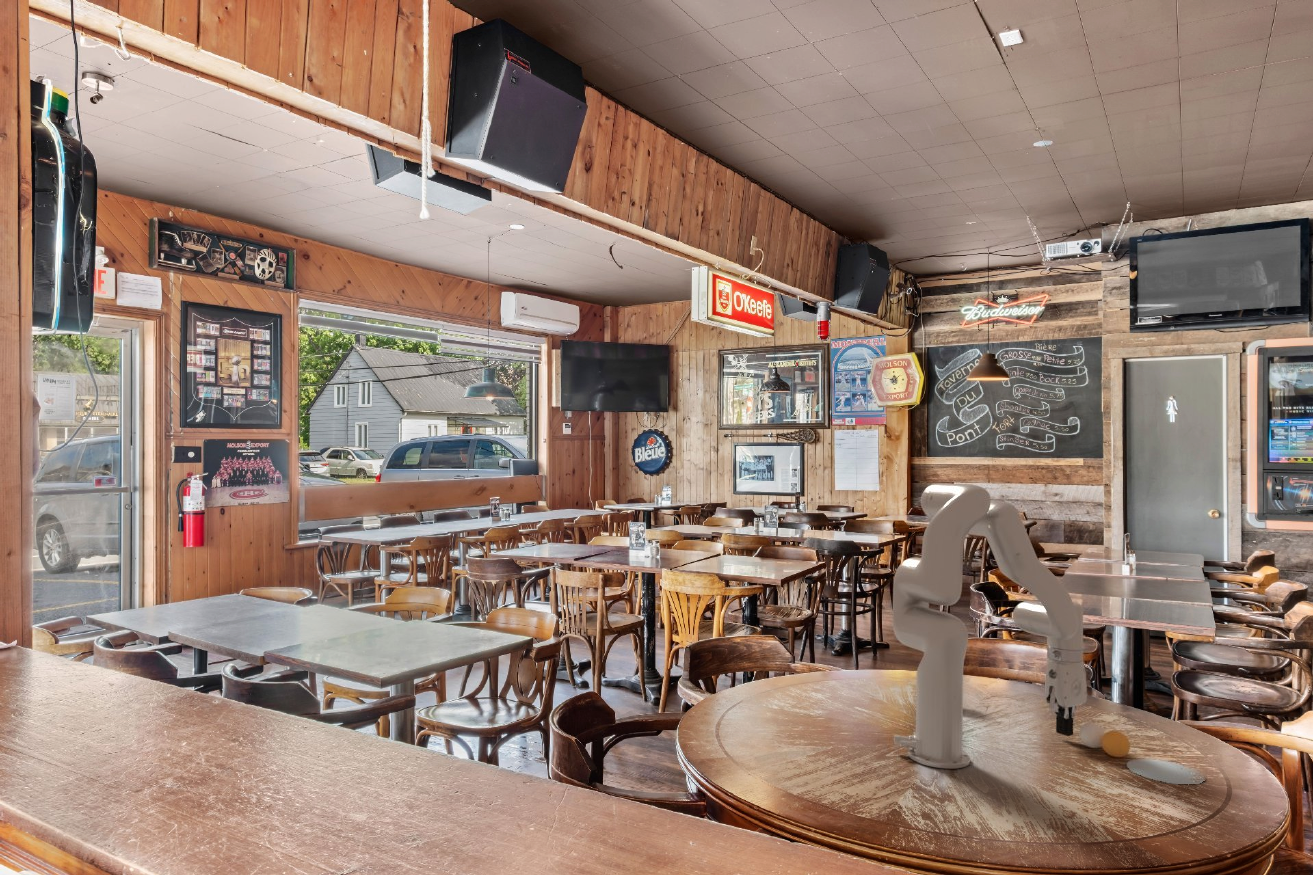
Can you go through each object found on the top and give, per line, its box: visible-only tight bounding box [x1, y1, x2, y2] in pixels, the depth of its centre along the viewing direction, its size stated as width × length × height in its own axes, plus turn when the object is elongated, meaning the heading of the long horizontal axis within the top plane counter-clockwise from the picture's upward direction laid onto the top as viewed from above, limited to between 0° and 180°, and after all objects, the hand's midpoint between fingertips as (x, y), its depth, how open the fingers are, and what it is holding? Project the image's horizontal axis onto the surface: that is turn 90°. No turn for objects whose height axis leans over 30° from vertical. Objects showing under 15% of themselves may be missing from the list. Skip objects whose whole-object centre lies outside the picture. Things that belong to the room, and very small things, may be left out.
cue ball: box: [1078, 722, 1106, 749], centre depth 187 cm, size 6×6×6 cm
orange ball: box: [1101, 730, 1131, 758], centre depth 181 cm, size 6×6×6 cm
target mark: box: [1126, 758, 1206, 786], centre depth 172 cm, size 14×14×1 cm
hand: (1064, 733), depth 191 cm, fingers closed
